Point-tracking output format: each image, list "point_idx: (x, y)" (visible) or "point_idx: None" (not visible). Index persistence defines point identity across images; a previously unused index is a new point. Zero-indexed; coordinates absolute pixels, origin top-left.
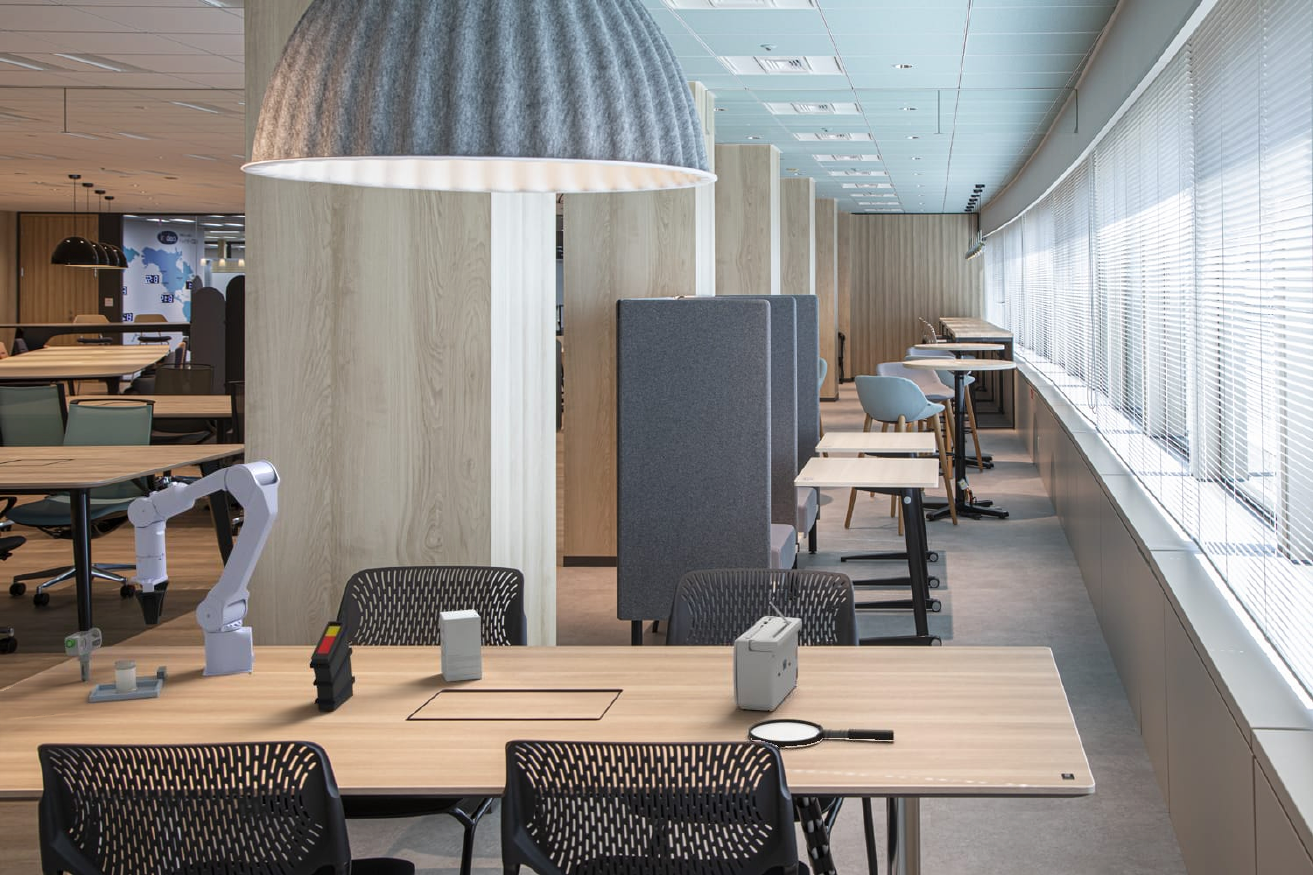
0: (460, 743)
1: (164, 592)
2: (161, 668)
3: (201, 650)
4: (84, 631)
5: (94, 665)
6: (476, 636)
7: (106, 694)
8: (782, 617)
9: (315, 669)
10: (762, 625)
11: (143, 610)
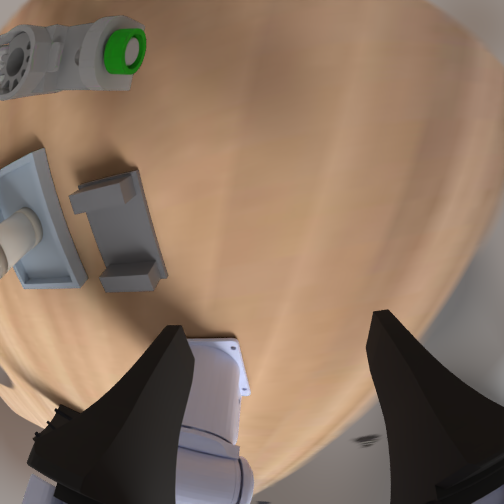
0: (46, 426)
1: (390, 464)
2: (129, 283)
3: (419, 299)
4: (31, 46)
5: (348, 30)
6: None
7: (18, 189)
8: None
9: (41, 432)
10: None
11: (121, 384)
